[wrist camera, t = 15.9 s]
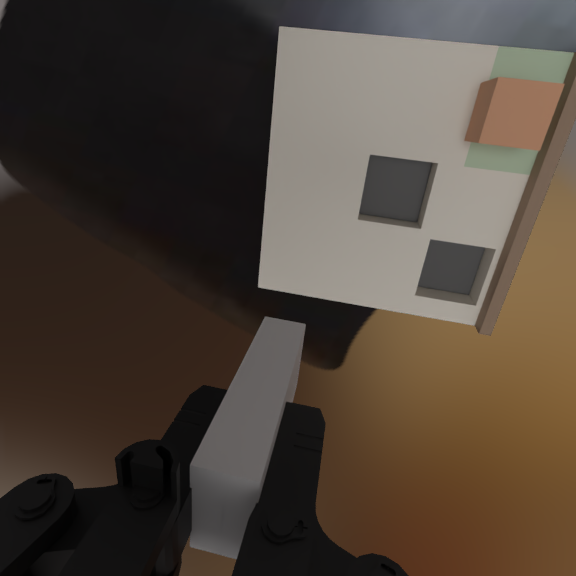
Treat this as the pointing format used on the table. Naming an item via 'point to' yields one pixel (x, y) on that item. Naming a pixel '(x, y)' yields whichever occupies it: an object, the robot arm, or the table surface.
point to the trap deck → (401, 173)
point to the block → (513, 112)
